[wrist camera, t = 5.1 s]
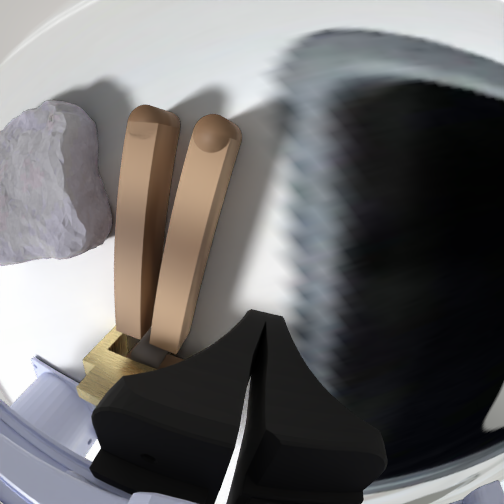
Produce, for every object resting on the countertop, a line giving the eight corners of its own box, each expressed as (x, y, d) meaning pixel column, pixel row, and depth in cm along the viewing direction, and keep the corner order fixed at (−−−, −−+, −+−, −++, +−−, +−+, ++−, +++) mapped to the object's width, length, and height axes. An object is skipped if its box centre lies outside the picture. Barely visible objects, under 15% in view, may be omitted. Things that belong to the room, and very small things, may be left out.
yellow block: (207, 388, 18) (180, 459, 12) (119, 357, 18) (74, 412, 12) (213, 357, 17) (181, 432, 11) (116, 324, 17) (63, 379, 11)
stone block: (15, 147, 17) (19, 263, 18) (-25, 139, 12) (-24, 272, 13) (120, 96, 15) (126, 248, 16) (76, 68, 10) (74, 259, 11)
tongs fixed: (182, 395, 19) (171, 419, 16) (138, 380, 19) (124, 401, 17) (221, 117, 13) (205, 109, 10) (155, 111, 13) (131, 104, 11)
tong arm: (189, 332, 16) (176, 354, 14) (165, 322, 16) (149, 343, 14) (245, 126, 13) (236, 119, 10) (214, 118, 13) (199, 110, 10)
